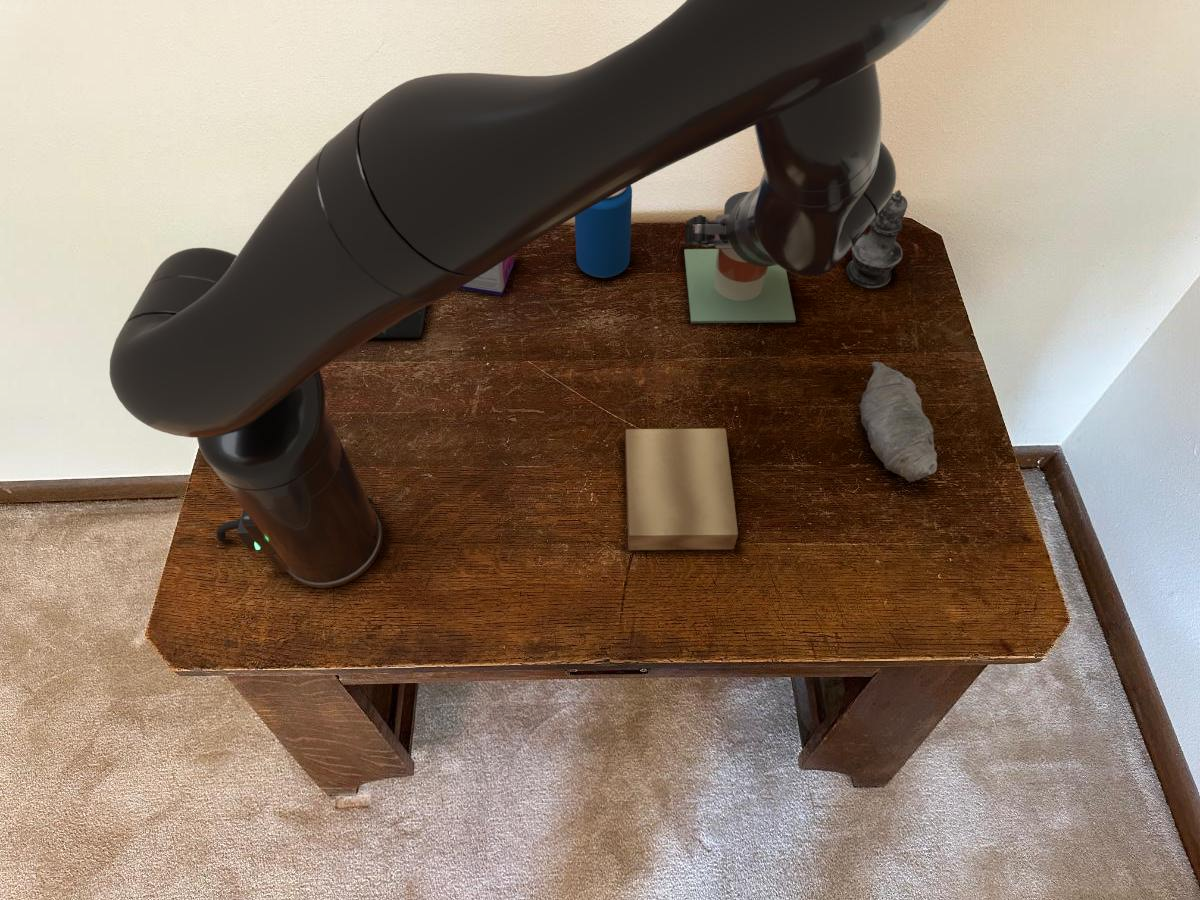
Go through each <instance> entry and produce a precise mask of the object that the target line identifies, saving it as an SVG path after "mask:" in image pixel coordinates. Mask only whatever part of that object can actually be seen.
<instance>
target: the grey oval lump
mask: <svg viewBox="0 0 1200 900" xmlns="http://www.w3.org/2000/svg"><path fill="white" fill-rule="evenodd" d="M871 367H872V370H873V372H872V375H871V376H870V378H869V380H868V381H867V385H866V389H865V391H864V392H863V393H862V395H861V401H860V403H859V411H860V416H861V418H860V421H861V425H862V426H863V427H864V430H865V431H866V435H867V439H868V440H867V441H868V443H869V444H870V449H871V450H872V451H873V452H874V454H875V456H877V458H878V459H879V460H880V462H881V463H883V467H884V469H885V470H887V471H890V472H892V473H893V474H897V475H898V476H900V477H902V478H905V480H906V481H908V482H915V481H918V480H921V479H923V478H926V477H928V476H930V475H932V474H933V475H934V474H935V473H936V472H937V468H938V461H937V458H938V453H937V451H936V450H935V442H934V440H935V439H934V428H933V426H932V424H931V421H930V419H929V418H928V417H927V416H926V414H925V413H924V411H923V409H922V399H921V396H920V395H919V394H918V393H917V390H916V384H915V383H914V381H913V380H912V379H910V377H907V376H905V375H904V374H903V373H902V372H900V371H898V370H895V369H893V368H890V367H889V366H886V365H885V364H884V363H883V362H880V361H872V362H871Z"/></svg>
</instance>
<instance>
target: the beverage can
mask: <svg viewBox="0 0 1200 900" xmlns="http://www.w3.org/2000/svg"><path fill="white" fill-rule="evenodd" d="M632 202H633V187H632V185H630V186H628V187H626V188H624V189H622V190H620V191H619V192H617V193H615V194H613V195H611V196H610V197H608V198H606V199H604V200H602V201H601V202H599V203H597V204H595V205H593V206H591V207H590V208H588V209H586V210H585V211H583V212H581V213H580V214H578V215H576V216H575V217H574V231H575V233H574V234H575V255H576V256H575V257H576V264H577V266H578V267H579V269H580V270H581V271H582V272H583V273H585V274H587V275H589V276H591V277H595V278H603V279H604V278H605V279H606V278H610V277H615V276H617V275H620V274H621V273H623V272H624V271H625V270H626V269H627V268H628V266H629V265H630V260H631V239H632V238H631V237H632V236H631V234H632V208H633V207H632V206H633V205H632V204H633V203H632Z"/></svg>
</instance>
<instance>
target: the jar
mask: <svg viewBox="0 0 1200 900" xmlns="http://www.w3.org/2000/svg"><path fill="white" fill-rule="evenodd" d="M749 192H750V191H741V192H737V193H735V194H733V195H732V196H730V197H729V198H728V199H727V200H726V202H725V204H724V208H723V214H722V215H726V214H731V211H732V210H733V208H734V206H735V205H736V203H737V202H738V201H739V200H740V199H741V198H742V197H743V196H745V195H746V194H747V193H749ZM728 242H729V241H728ZM729 243H730V242H729ZM768 267H769V266H768ZM768 267H761V266H755V265H752V264H750V263H748V262H746V261H744V260H743V259H742V258H740V257H739V256H738V255H737V253H736V252H735V251H734V249H718V250H717V257H716V265H715V272H714V278H713V284H714V287H715V289H716V290H717V292H718V293H719V294H721V295H722V296H724V297H725V298H728V299H731V300H735V301H747V300H751V299H753V298H755V297H757V296H758V295H759V294H760V293H761V292H762V290H763V288H764V283H765V279H766V275H767V270H768Z"/></svg>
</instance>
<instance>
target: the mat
mask: <svg viewBox="0 0 1200 900" xmlns="http://www.w3.org/2000/svg"><path fill="white" fill-rule="evenodd" d="M717 250H718V249H717V248H684V250H683V257H684V264H685V276H686V277H685V278H686V285H687V286H686V287H687V297H688V306H689V316H690V324H734V323H735V324H747V323H748V324H749V323H750V324H752V323H755V324H756V323H757V324H758V323H759V324H764V323H766V324H767V323H770V324H771V323H796V322H797V321H796V320H797V318H796V313H795V309H794V308H795V307H794V303H793V298H792V293H791V288H790V282H789V278H788V274H787V273H788V272H787V270H785V269H783V268H782V267H780V266H779V265H774V266H769V267H768V270H767V275H766V279H765V283H764V288H763V290H762V292H761V293H760V294H759V295H758V296H757V297H755V298H753V299H751V300H747V301H735V300H731V299H728V298H725V297H724V296H722V295H721V294H719V293H718V292H717V290H716V289H715V287H714V284H713V278H714V272H715V265H716V257H717Z"/></svg>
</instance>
